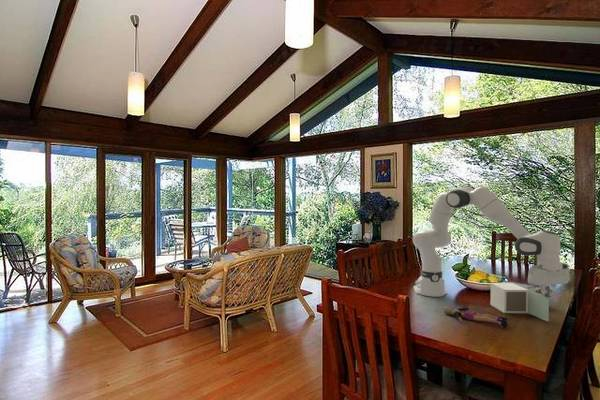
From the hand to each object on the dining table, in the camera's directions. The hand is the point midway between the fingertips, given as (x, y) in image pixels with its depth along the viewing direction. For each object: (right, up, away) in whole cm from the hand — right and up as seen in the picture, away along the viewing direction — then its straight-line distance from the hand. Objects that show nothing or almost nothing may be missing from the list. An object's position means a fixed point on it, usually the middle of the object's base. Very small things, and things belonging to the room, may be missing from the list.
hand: (547, 293), depth 166 cm
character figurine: (-34, -14, +3) cm, 37 cm away
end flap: (-1, -13, +5) cm, 14 cm away
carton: (-8, -13, +18) cm, 24 cm away
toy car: (+5, -13, +32) cm, 35 cm away
